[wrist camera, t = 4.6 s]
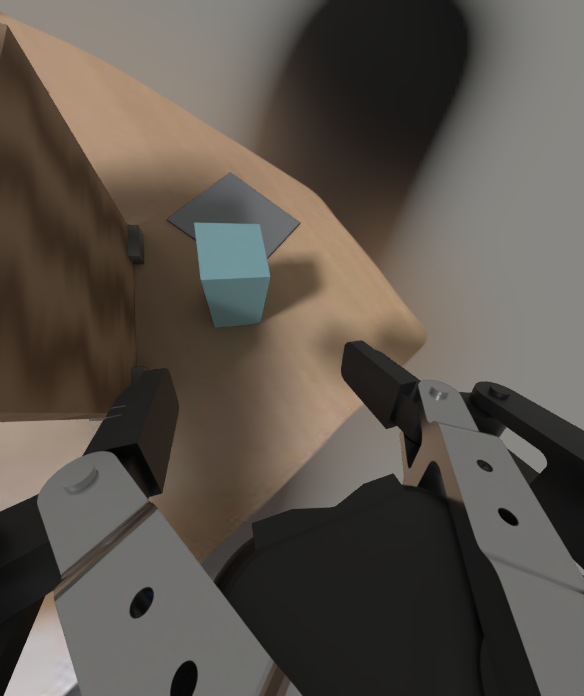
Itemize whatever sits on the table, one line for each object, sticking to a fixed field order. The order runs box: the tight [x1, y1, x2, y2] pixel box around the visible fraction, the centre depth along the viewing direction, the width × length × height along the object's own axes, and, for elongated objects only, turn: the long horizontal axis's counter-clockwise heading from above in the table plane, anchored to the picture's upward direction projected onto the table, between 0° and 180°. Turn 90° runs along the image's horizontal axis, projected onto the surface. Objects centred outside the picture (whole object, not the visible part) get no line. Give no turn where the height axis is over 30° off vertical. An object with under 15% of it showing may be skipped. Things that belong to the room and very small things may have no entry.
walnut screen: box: [0, 23, 148, 422], centre depth 15 cm, size 20×4×14 cm, turn 12°
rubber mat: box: [167, 172, 300, 258], centre depth 28 cm, size 12×12×1 cm
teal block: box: [194, 223, 270, 328], centre depth 20 cm, size 5×5×9 cm
